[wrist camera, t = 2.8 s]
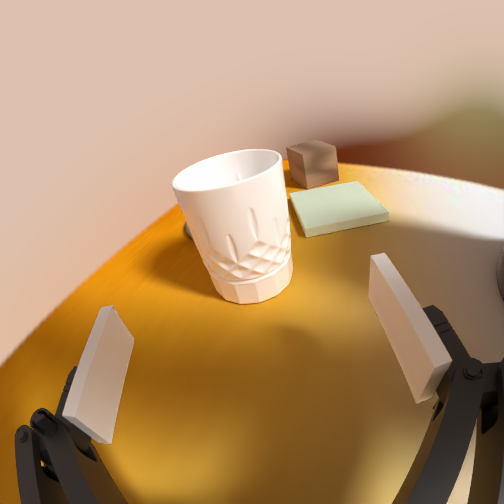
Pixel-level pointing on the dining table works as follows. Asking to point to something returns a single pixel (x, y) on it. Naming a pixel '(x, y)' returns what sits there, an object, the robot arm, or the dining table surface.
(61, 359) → the dining table surface
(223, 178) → the white cup
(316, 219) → the green mat
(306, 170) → the walnut block
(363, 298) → the dining table surface
